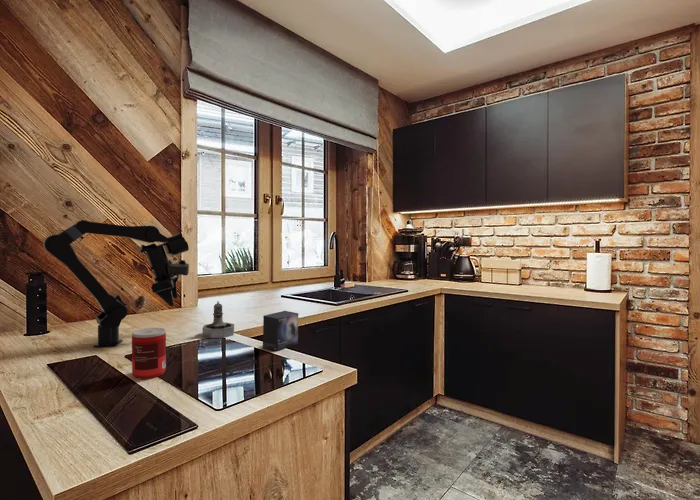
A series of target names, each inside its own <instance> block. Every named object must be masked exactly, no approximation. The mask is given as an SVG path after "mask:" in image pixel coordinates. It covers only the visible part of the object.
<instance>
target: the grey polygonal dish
mask: <svg viewBox="0 0 700 500" xmlns="http://www.w3.org/2000/svg"><path fill="white" fill-rule="evenodd" d="M225 323H226V324H227V325H226V328H222V329H211V328H210V326H209V325H210V324H211V323H208V324H204V325H203V326H202V337H203V338H208V339H222V338H223V339H224V338H228V337H231V336H234V335H235V323H231V322H225Z"/></svg>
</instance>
